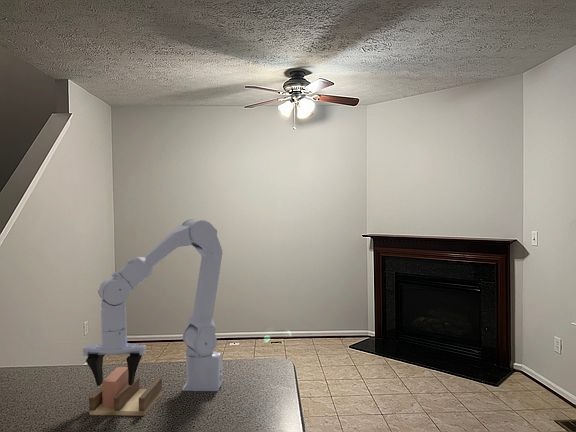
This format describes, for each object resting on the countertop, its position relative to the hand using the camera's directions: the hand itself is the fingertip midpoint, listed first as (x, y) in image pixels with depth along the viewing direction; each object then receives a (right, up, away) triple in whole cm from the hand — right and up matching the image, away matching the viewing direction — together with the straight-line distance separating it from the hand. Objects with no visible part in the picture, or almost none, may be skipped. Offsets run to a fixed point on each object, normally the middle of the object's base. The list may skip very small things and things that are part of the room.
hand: (115, 384), depth 118 cm
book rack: (+3, -5, 0) cm, 6 cm away
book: (0, -4, 0) cm, 4 cm away
